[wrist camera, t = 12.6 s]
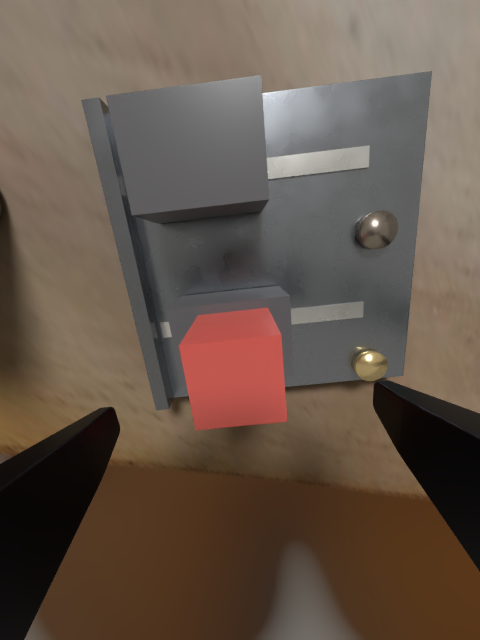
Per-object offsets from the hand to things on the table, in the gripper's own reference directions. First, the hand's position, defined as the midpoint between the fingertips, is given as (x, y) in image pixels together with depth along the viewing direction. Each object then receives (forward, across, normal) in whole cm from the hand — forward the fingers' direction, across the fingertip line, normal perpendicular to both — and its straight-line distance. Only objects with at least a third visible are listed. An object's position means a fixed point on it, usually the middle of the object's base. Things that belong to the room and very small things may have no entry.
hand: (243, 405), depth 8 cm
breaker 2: (+10, 0, 0) cm, 10 cm away
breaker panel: (+12, -3, -4) cm, 13 cm away
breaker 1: (+10, +1, -10) cm, 14 cm away
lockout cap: (+6, 0, 0) cm, 6 cm away
